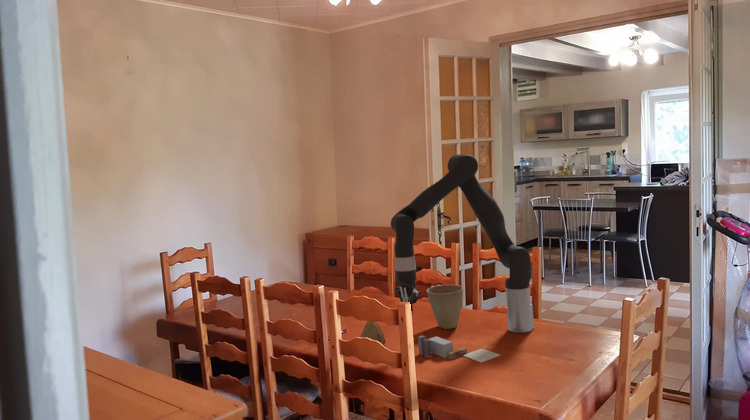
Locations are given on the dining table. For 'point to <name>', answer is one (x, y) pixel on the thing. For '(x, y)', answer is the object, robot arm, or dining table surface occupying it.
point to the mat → (481, 355)
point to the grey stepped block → (424, 346)
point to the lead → (441, 346)
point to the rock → (373, 332)
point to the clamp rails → (457, 353)
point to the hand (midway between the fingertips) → (409, 314)
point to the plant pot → (446, 304)
